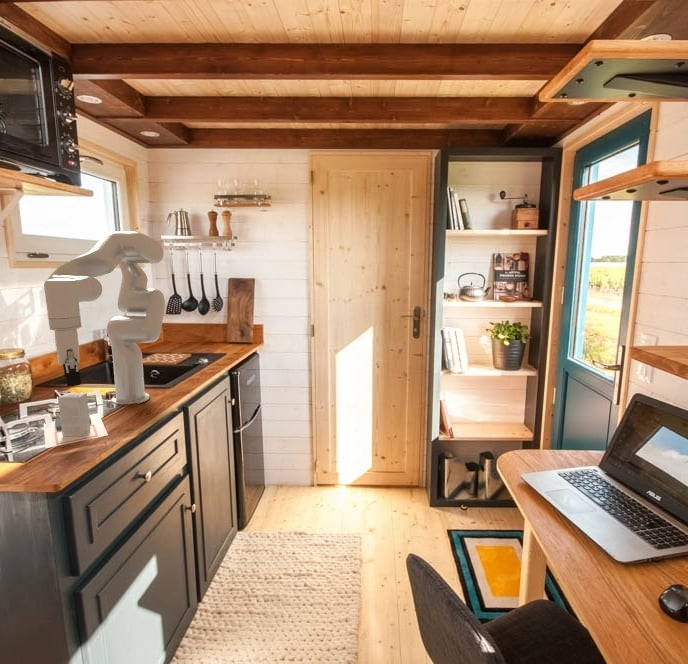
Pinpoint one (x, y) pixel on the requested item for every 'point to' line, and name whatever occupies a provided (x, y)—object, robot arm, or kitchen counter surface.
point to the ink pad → (58, 423)
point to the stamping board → (57, 439)
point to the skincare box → (74, 414)
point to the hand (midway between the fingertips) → (72, 380)
